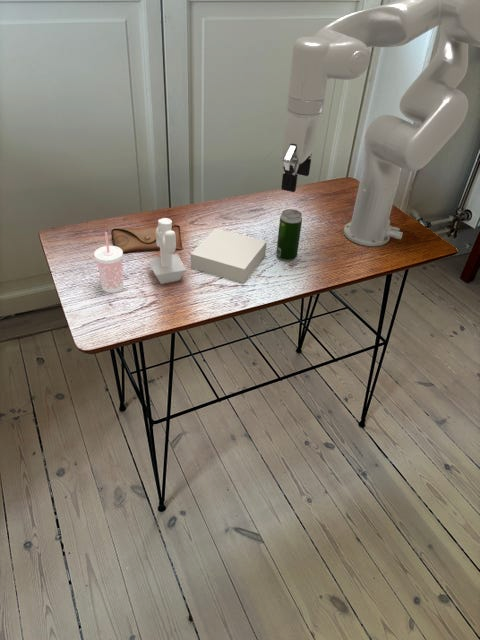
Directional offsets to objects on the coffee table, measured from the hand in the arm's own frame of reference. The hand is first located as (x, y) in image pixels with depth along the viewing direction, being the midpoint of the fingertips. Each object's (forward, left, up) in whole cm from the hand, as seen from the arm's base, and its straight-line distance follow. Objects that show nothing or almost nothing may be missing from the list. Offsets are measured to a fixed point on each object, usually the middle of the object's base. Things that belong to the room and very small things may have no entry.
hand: (295, 182), depth 117 cm
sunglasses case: (+34, +11, -21) cm, 41 cm away
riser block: (+12, +9, -20) cm, 25 cm away
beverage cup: (+31, +31, -20) cm, 48 cm away
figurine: (+22, +22, -20) cm, 37 cm away
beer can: (0, 0, -20) cm, 20 cm away
